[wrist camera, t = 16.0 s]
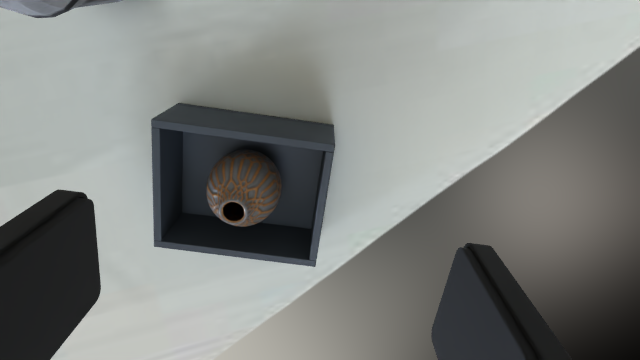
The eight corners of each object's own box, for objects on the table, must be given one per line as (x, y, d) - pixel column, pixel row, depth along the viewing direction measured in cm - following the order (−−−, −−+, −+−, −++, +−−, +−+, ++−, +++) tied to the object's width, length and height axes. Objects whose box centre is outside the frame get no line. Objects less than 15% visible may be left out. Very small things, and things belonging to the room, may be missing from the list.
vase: (275, 135, 40) (262, 166, 32) (291, 197, 42) (283, 240, 34) (209, 148, 40) (179, 182, 32) (228, 208, 43) (206, 254, 35)
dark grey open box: (178, 102, 39) (151, 119, 33) (333, 124, 40) (335, 144, 34) (177, 214, 44) (153, 246, 38) (316, 232, 45) (315, 267, 39)
